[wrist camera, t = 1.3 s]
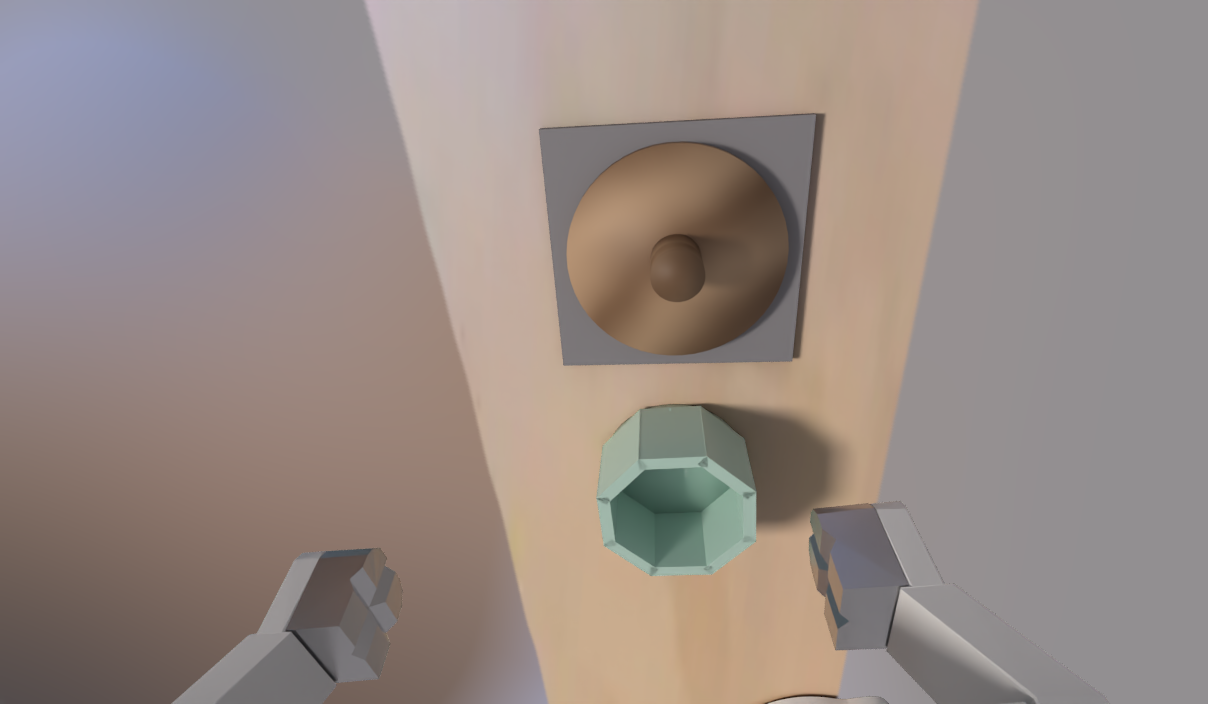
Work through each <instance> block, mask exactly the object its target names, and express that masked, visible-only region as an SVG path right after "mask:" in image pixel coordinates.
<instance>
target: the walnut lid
mask: <svg viewBox="0 0 1208 704" xmlns="http://www.w3.org/2000/svg"><path fill="white" fill-rule="evenodd" d="M788 251H789V243H788V231H787V226H786V221H785V218H784V215H783V212H782V209H781V206H780V204H779V203H778V201H777V199H776V197H775V195H774V193H773V192H772V190H771V189H770V188H769V186H768V185H767V183H766V182H765V181H764V179H763V178H762V177H761V176H760V175H759V174H758V173H757V172H756V171H755V170H754V169H753V168H752V167H750V166H749V165H748V164H747V163H745V162H744V161H743V160H741V159H740V158H738V157H736V156H734V155H733V154H731V153H729V152H727V151H725V150H722V149H719V148H717V147H714V146H710V145H706V144H702V143H695V142H685V141H681V142H666V143H660V144H654V145H651V146H648V147H644V148H641V149H638V150H636V151H634V152H632V153H630V154H628V155H626V156H624V157H622V158H621V159H619V160H618V161H616V162H615V163H613V164H611V165H610V166H609V167H608V168H607V169H606V170H605V171H603V172H602V173H601V174H600V175H599V176H598V177H597V178H596V180H595V181H594V182H593V183H592V184H591V185H590V187H589V188H588V190H587V191H586V192H585V194H584V195H583V197H582V199H581V201H580V203H579V205H578V207H577V209H576V211H575V213H574V216H573V219H572V222H571V225H570V229H569V234H568V240H567V267H568V272H569V277H570V281H571V284H572V287H573V289H574V292H575V294H576V296H577V298H578V300H579V302H580V304H581V306H582V307H583V309H584V310H585V311H586V313H587V314H588V316H589V317H590V318H591V319H592V320H593V321H594V322H595V323H596V324H597V326H599V327H600V328H601V329H602V330H603V331H605V332H606V333H607V334H608V335H610V336H611V337H613V338H614V339H616V340H617V341H619V342H621V343H623V344H625V345H627V346H629V347H632V348H635V349H638V350H640V351H644V352H648V353H653V354H659V355H688V354H696V353H700V352H704V351H708V350H711V349H714V348H716V347H719V346H722V345H724V344H726V343H727V342H729V341H731V340H733V339H735V338H736V337H738V336H739V335H741V334H742V333H744V332H745V331H746V330H748V329H749V328H750V327H751V326H752V325H754V324H755V323H756V322H757V321H758V319H759V318H760V317H761V316H762V315H763V314H764V313H765V312H766V310H767V309H768V307H769V306H770V305H771V303H772V302H773V300H774V298H775V296H776V294H777V293H778V291H779V289H780V286H781V283H782V281H783V278H784V275H785V271H786V267H787V262H788Z"/></svg>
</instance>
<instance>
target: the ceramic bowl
mask: <svg viewBox="0 0 1208 704" xmlns="http://www.w3.org/2000/svg"><path fill="white" fill-rule="evenodd" d="M596 499H597V503H598V510H599V516H600V523H601V529H602V536H603V542H604V546H605V547H607V548H608V549H610V550H611V551H613V552H614V553H616V554H618V555H619V556H621V557H622V558H624V559H625V560H627V561H628V562H630V563H632V564H633V565H635V566H636V567H638V568H639V569H641V570H643V571H644V572H646V573H647V574H649V575H650V576H665V575H708V574H711V575H712V574H713V573H714V572H716V571H717V570H718V569H720V568H721V567H722V566H724V565H725V564H726V563H728V562H729V561H730V560H732V559H733V558H735V557H736V556H737V555H739V554H740V553H741V552H743V551H744V550H745V549H747V548H748V547H749V546H751V545H752V544H753V543H755V542H756V487H755V483H754V479H753V474H752V470H751V466H750V461H749V457H748V452H747V448H746V444H745V439H744V438H743V437H741V436H740V435H739V434H737V433H736V432H735V431H733V429H732V428H731V427H730V426H729V425H728V424H727V423H726V422H725V421H724V420H722V419H721V418H719V417H718V416H716V415H715V414H713V413H711V412H709V411H707V410H705V409H704V408H703V407H701V406H690V405H681V404H668V405H660V406H656V407H651V408H648V409H640V410H639V411H638V412H637V413H636V414H635V415H633V416H632V417H630V418H629V419H627V420H626V421H625V422H624V423H623V424H621V425H620V427H619V428H618V429H617V430H616V431H615V433H614V434H613V436H612V437H611V438H610V439H609V440H608V441H607V442H606V443H605V444H604V445H603V448H602V456H601V465H600V473H599V481H598V490H597V498H596Z"/></svg>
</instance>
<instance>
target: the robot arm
mask: <svg viewBox="0 0 1208 704" xmlns="http://www.w3.org/2000/svg"><path fill="white" fill-rule="evenodd" d="M810 523H811V526H812V529H813V533H814V534H813V535H812V536H811V537H810V538H809V555H810V564H811V569H812V573H813V577H814V581H815V584H816V588H817V590H818V591H819V592H820V593H821V594H822V595H823V596H824V597H826V598H825V610H824V615H825V618H826V621H827V624H828V628H829V631H830V634H831V637H832V641H833V644H834V647H835V650H855V649H884V648H887V652H888V653H889V654H890V655H891V656H892V657H893V658H894V659H895V660H896V661H897V663H899V664H900V666H901V667H902V668H903V669H904V670H905V671H906V672H907V673H908V674H909V675H910V676H911V677H912V678H913V679H914V680H915V681H916V682H917V683H918V684H919V685H920V687H921V688H922V689H923V690H924V691H925V692H926V693H927V694H928V695H929V696H930V697H931V698H932V699H933V700H934V701H935V702H936V703H937V704H1110V703H1109V702H1108V700H1107V699H1106V697H1105V696H1104V695H1103V694H1102V693H1100V692H1099V691H1097V690H1096V689H1095V688H1094V687H1092V686H1091V685H1090V684H1088V683H1087V682H1086V681H1084V680H1083V679H1081V678H1080V677H1079V676H1077V675H1076V674H1075V673H1073V672H1072V671H1071V670H1069V669H1068V668H1067V667H1065V666H1064V665H1063V664H1061V663H1060V662H1059V661H1057V660H1056V659H1055V658H1053V657H1052V656H1051V655H1049V654H1048V653H1047V652H1045V651H1044V650H1043V649H1041V648H1040V647H1039V646H1037V645H1036V644H1035V643H1033V642H1032V641H1031V640H1029V639H1028V638H1027V637H1025V636H1024V635H1023V634H1021V633H1020V632H1018V631H1017V630H1016V629H1014V628H1013V627H1012V626H1010V625H1009V624H1008V623H1006V622H1005V621H1004V620H1002V619H1001V618H1000V617H998V616H997V615H996V614H994V613H993V612H992V611H990V610H989V609H988V608H986V607H985V606H984V605H982V604H981V603H980V602H978V601H977V600H975V599H974V598H973V597H972V596H970V595H969V594H967V593H966V592H965V591H964V590H962V589H961V588H959V587H958V586H957V585H956V584H954V583H953V584H945V583H944V581H943V579H942V577H941V575H940V573H939V571H938V569H937V567H936V565H935V563H934V561H933V559H932V557H931V556H930V553H929V552H928V549H927V547H926V546H925V543H924V542H923V540H922V537H921V536H920V533H919V531H918V529H917V528H916V525H915V523H914V522H913V520H912V518H911V516H910V514H909V512H908V510H907V508H906V506H905V505H904V504H903V503H902V502H901V501H895V502H884V503H874V504H868V503H866V504H856V505H846V506H836V507H826V508H817V509H813V510H812V512H811V518H810ZM386 560H387V557H386V556H385V554H384V553H383V551H382V550H381V548H369V549H354V550H338V551H321V552H309V553H302V554H301V555H300V556H299V557H298V558H297V559H296V560H295V561H294V562H293V564H292V566H291V568H290V570H289V572H288V574H287V576H286V578H285V580H284V582H283V584H282V586H281V588H280V590H279V591H278V594H277V595H276V597H275V599H274V602H273V603H272V605H271V607H270V609H269V611H268V613H267V615H266V617H265V619H264V621H263V623H262V625H261V627H260V629H259V630H258V633H257V634H250V635H248V636H247V637H246V638H245V639H244V640H243V641H242V642H241V643H239V645H237V646H236V647H235V648H234V649H233V650H232V651H230V652H229V653H228V654H227V655H226V656H225V657H224V658H223V659H222V660H221V661H219V662H218V663H217V664H216V665H215V666H214V667H213V668H211V669H210V670H209V671H208V672H207V673H206V674H205V675H203V677H201V678H200V679H199V680H198V681H197V682H196V683H194V684H193V685H192V686H191V687H190V688H189V689H188V690H187V691H185V692H184V693H183V694H182V695H181V696H180V697H179V698H178V699H176V700H175V701H174V702H173V703H172V704H322V703H323V702H324V701H325V699H326V698H327V697H328V695H329V694H330V693H331V692H332V691H333V689H334V688H335V687H336V683H339V682H349V681H360V680H371V679H379V677H380V674H381V671H382V668H383V665H384V662H385V659H386V655H387V652H388V649H389V646H390V642H389V639H388V636H387V634H386V632H387V631H388V630H389V629H390V628H391V627H392V626H393V625H394V624H395V623H396V622H397V621H398V617H399V614H400V610H401V607H402V592H403V590H402V586H401V581H400V579H399V577H398V575H397V573H396V572H395V571H393V570H391V569H389V568H388V567H386V566H385V563H386ZM768 704H889V703H888V702H887V701H885V700H884V699H883V698H881V697H876V696H868V697H859V698H852V699H835V698H826V697H795V698H788V699H783V700H778V701H775V702H771V703H768Z"/></svg>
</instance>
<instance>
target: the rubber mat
mask: <svg viewBox="0 0 1208 704" xmlns="http://www.w3.org/2000/svg"><path fill="white" fill-rule="evenodd" d="M815 122H816V114H814V113H812V114H794V115H776V116H757V117H739V118H721V119H703V120H685V121H666V122H648V123H630V124H612V125H594V126H575V127H557V128H540V129H539V135H540V145H541V154H542V164H543V173H544V183H545V192H546V202H547V211H548V221H549V231H550V240H551V250H552V259H553V269H554V278H555V288H556V298H557V307H558V317H559V326H560V336H561V345H562V355H563V365H616V364H671V363H726V362H780V361H792V358H793V348H794V338H795V327H796V317H797V307H798V297H799V286H800V276H801V266H802V255H803V245H804V235H805V225H806V214H807V204H808V194H809V184H810V173H811V163H812V153H813V142H814V132H815ZM681 141H685V142H695V143H702V144H706V145H710V146H714V147H717V148H719V149H722V150H725V151H727V152H729V153H731V154H733V155H734V156H736V157H738V158H740V159H741V160H743V161H744V162H745V163H747V164H748V165H749V166H750V167H752V168H753V169H754V170H755V171H756V172H757V173H758V174H759V175H760V176H761V177H762V178H763V179H764V181H765V182H766V183H767V185H768V186H769V188H770V189H771V190H772V192H773V193H774V195H775V197H776V199H777V201H778V203H779V204H780V206H781V209H782V212H783V215H784V218H785V221H786V226H787V231H788V243H789V251H788V262H787V267H786V271H785V275H784V278H783V281H782V283H781V286H780V289H779V291H778V293H777V294H776V296H775V298H774V300H773V302H772V303H771V305H770V306H769V307H768V309H767V310H766V312H765V313H764V314H763V315H762V316H761V317H760V318H759V319H758V321H757V322H756V323H755V324H754V325H752V326H751V327H750V328H749V329H748V330H746V331H745V332H744V333H742V334H741V335H739V336H738V337H736V338H735V339H733V340H731V341H729V342H727V343H726V344H724V345H722V346H719V347H716V348H714V349H711V350H708V351H704V352H700V353H696V354H688V355H659V354H653V353H648V352H644V351H640V350H638V349H635V348H632V347H629V346H627V345H625V344H623V343H621V342H619V341H617V340H616V339H614V338H613V337H611V336H610V335H608V334H607V333H606V332H605V331H603V330H602V329H601V328H600V327H599V326H597V324H596V323H595V322H594V321H593V320H592V319H591V318H590V317H589V316H588V314H587V313H586V311H585V310H584V309H583V307H582V306H581V304H580V302H579V300H578V298H577V296H576V294H575V292H574V289H573V287H572V284H571V281H570V277H569V272H568V267H567V240H568V234H569V229H570V225H571V222H572V219H573V216H574V213H575V211H576V209H577V207H578V205H579V203H580V201H581V199H582V197H583V195H584V194H585V192H586V191H587V190H588V188H589V187H590V185H591V184H592V183H593V182H594V181H595V180H596V178H597V177H598V176H599V175H600V174H601V173H602V172H603V171H605V170H606V169H607V168H608V167H609V166H610V165H611V164H613V163H615V162H616V161H618V160H619V159H621V158H622V157H624V156H626V155H628V154H630V153H632V152H634V151H636V150H638V149H641V148H644V147H648V146H651V145H654V144H660V143H666V142H681Z"/></svg>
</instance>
